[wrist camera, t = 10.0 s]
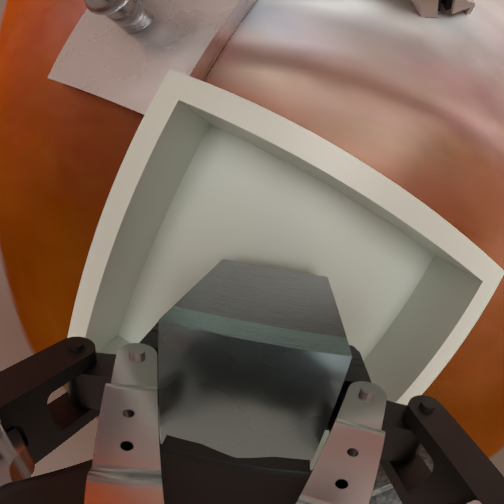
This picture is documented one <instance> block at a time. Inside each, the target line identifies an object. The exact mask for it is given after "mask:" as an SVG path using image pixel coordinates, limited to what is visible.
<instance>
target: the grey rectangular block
mask: <svg viewBox="0 0 504 504" xmlns="http://www.w3.org/2000/svg"><path fill="white" fill-rule="evenodd" d="M351 359H352V354H351V350H350V347H349V343H348V340H347V337H346V333H345V330H344V327H343V324H342V320H341V317H340V314H339V311H338V308H337V305H336V302H335V298H334V295H333V292H332V289H331V286H330V283H329V280H328V277H324V276H318V275H312V274H307V273H301V272H295V271H289V270H283V269H277V268H271V267H266V266H260V265H254V264H248V263H243V262H237V261H231V260H226V259H222V260H221V261H220V262H219V263H218V264H217V265H216V266H215V267H214V268H213V269H212V270H211V271H210V272H209V273H207V274H206V275H205V276H204V277H203V278H202V279H201V280H200V281H199V282H198V283H197V284H196V285H195V286H194V287H193V288H192V289H190V290H189V291H188V292H187V293H186V294H185V295H184V296H183V297H182V298H181V299H180V300H179V301H178V302H177V303H176V304H175V305H174V306H173V307H172V308H170V309H169V310H168V311H167V312H166V313H165V314H164V315H163V316H162V317H161V318H160V319H159V328H158V387H159V416H160V435H161V444H163V442H164V439H165V437H166V435H169V436H173V437H177V438H180V439H184V440H188V441H192V442H196V443H200V444H203V445H205V446H207V447H210V448H212V449H215V450H217V451H219V452H222V453H224V454H227V455H229V456H232V457H235V458H258V457H283V458H293V459H304V460H310V463H311V461H312V459H313V457H314V455H315V452H316V450H317V448H318V446H319V443H320V441H321V439H322V436H323V434H324V432H325V429H326V427H327V424H328V422H329V419H330V417H331V414H332V412H333V409H334V407H335V404H336V401H337V399H338V396H339V393H340V391H341V388H342V385H343V382H344V379H345V376H346V374H347V371H348V368H349V365H350V362H351Z"/></svg>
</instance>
